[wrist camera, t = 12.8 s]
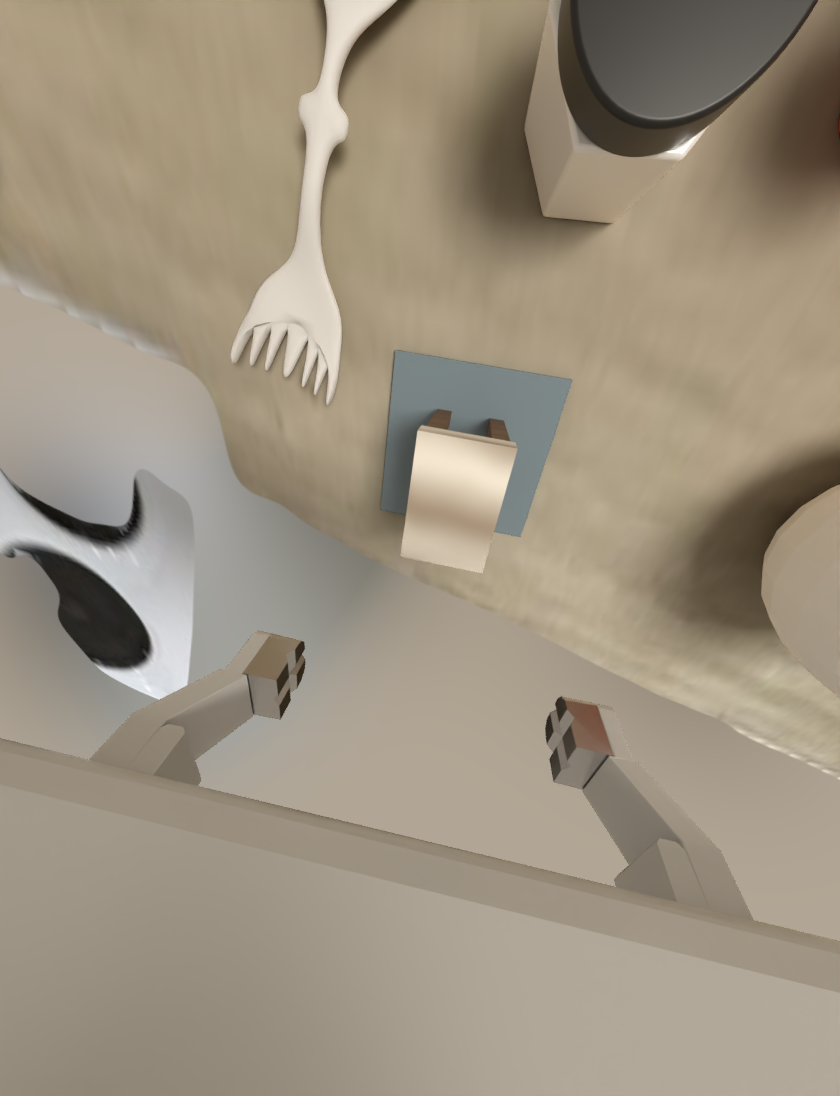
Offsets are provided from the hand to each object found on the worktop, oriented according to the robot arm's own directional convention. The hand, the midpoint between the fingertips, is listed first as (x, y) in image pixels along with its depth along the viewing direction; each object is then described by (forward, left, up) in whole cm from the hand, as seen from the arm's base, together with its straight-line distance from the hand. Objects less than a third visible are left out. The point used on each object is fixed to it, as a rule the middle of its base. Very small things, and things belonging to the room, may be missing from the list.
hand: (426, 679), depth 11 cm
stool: (0, 0, -24) cm, 24 cm away
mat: (0, +1, -24) cm, 24 cm away
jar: (+4, +21, -25) cm, 33 cm away
